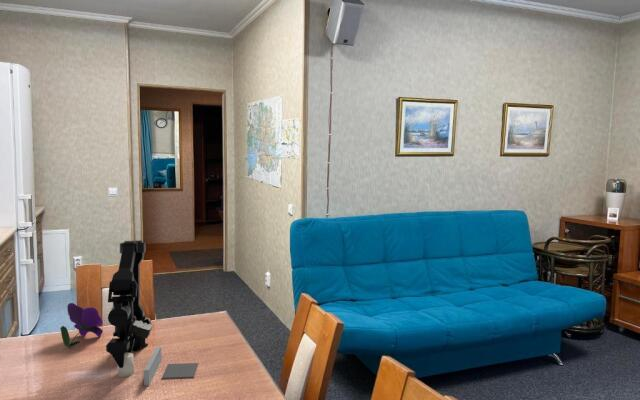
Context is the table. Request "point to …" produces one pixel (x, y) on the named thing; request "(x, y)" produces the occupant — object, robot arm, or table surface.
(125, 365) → the cream rounded cone
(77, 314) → the flower
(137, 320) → the robot arm
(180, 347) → the table surface
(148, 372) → the wall
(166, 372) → the mat
